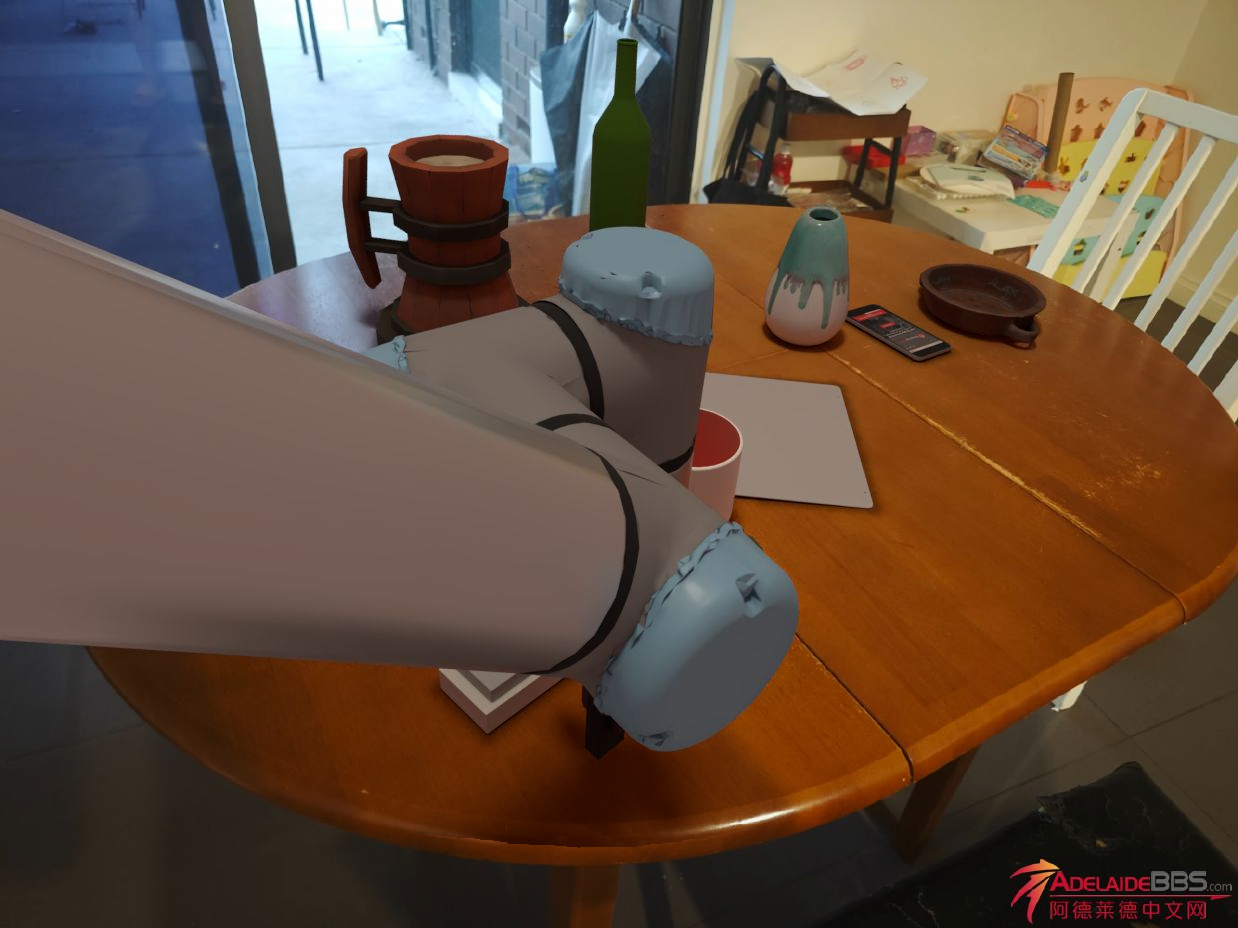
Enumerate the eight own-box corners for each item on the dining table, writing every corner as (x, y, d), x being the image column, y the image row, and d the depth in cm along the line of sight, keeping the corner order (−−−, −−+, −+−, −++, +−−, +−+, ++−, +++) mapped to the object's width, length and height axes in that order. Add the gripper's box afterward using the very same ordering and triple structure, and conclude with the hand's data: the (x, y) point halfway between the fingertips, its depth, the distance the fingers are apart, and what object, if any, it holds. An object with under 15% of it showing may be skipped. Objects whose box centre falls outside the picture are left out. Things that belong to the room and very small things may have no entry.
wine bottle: (608, 243, 144) (619, 31, 125) (653, 258, 140) (671, 41, 121) (576, 259, 138) (582, 39, 119) (621, 275, 134) (636, 50, 115)
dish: (957, 278, 141) (966, 249, 138) (1072, 337, 126) (1085, 306, 123) (880, 296, 133) (888, 266, 130) (991, 362, 118) (1003, 330, 115)
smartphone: (875, 302, 129) (954, 346, 120) (873, 307, 130) (952, 350, 120) (840, 313, 126) (919, 358, 116) (839, 317, 126) (917, 362, 117)
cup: (701, 561, 83) (713, 483, 76) (615, 521, 87) (619, 443, 80) (746, 505, 89) (760, 429, 83) (664, 470, 93) (671, 394, 87)
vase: (794, 362, 115) (820, 234, 104) (742, 325, 123) (762, 203, 112) (857, 344, 120) (889, 221, 110) (804, 310, 128) (828, 192, 117)
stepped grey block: (487, 734, 66) (485, 703, 63) (440, 688, 69) (437, 657, 67) (581, 664, 72) (582, 634, 69) (533, 625, 75) (534, 594, 73)
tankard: (519, 389, 106) (516, 193, 91) (327, 363, 108) (294, 168, 93) (557, 311, 123) (560, 135, 108) (391, 290, 125) (371, 115, 111)
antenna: (659, 372, 111) (659, 364, 110) (838, 390, 111) (840, 382, 110) (654, 491, 91) (655, 482, 90) (872, 513, 91) (875, 504, 90)
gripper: (751, 526, 48) (703, 769, 62) (591, 426, 55) (581, 665, 69) (662, 590, 44) (632, 836, 58) (500, 473, 51) (509, 718, 65)
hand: (604, 743), depth 64 cm, fingers closed
